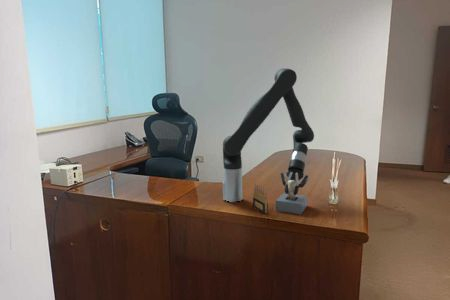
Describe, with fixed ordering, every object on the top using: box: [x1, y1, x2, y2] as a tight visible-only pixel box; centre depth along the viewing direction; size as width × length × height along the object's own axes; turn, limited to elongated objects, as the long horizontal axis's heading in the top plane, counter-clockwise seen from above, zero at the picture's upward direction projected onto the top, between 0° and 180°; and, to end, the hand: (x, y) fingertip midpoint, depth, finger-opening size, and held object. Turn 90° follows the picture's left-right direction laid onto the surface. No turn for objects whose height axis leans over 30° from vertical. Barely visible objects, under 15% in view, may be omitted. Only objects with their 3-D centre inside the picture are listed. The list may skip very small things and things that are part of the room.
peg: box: [288, 180, 297, 201], centre depth 162 cm, size 4×4×10 cm
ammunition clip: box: [252, 183, 269, 215], centre depth 161 cm, size 11×2×12 cm, turn 26°
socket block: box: [275, 192, 308, 215], centre depth 163 cm, size 12×12×5 cm
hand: (290, 193), depth 160 cm, fingers closed on peg, 3 cm apart
